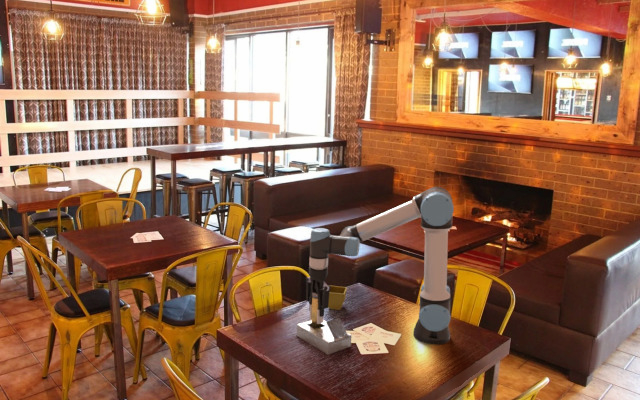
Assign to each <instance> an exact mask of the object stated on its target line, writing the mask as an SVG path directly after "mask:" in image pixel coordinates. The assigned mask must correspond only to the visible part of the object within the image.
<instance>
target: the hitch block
mask: <svg viewBox="0 0 640 400" xmlns="http://www.w3.org/2000/svg"><path fill="white" fill-rule="evenodd" d="M326 322H328V321H326V320H325V319H323V323H321V328H318V329H314V328H312V327H311V320H310V319H309V320H308V321H304V322H301V323H298V324H296V337H298V338H300V339H302V340H303V341H305V342H307V343H308V344H310V345H311V346H313V347H315V348H316V349H318V350H319V351H321V352H323V353H324V354H326V355H331V354H333V353H337V352H339V351H342V350H345V349H348V348H351V346H352V337H353V336H352V334H351V333H349V332H347V334H348V335H349V338H347V339H344V340H341V341H338V342H334V338H333V335H332V333H331V331H330V329H329V327H328V325H327V323H326Z"/></svg>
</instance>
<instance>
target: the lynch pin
mask: <svg viewBox="0 0 640 400" xmlns="http://www.w3.org/2000/svg"><path fill="white" fill-rule="evenodd" d="M317 308H319V304H318V293H317V292H316V291H314V292H312V316H311V327H312V328H314V329H318V328H321V323H320V324H317Z"/></svg>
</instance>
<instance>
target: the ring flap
mask: <svg viewBox="0 0 640 400" xmlns="http://www.w3.org/2000/svg"><path fill="white" fill-rule="evenodd" d="M326 323H327V325H328V327H329V329H330V331H331V333H332V335H333V338H334V342H338V341H341V340H344V339H347V338H349V335H348V334H347V333H348V332H347V331H346V328H345V326H344V324H343V322H342V320H341V318H340V317H337V318H334V319H331V320H328V321H327V322H326Z"/></svg>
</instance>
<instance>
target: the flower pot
mask: <svg viewBox="0 0 640 400" xmlns="http://www.w3.org/2000/svg"><path fill="white" fill-rule="evenodd" d="M330 286H331V289H330V291H329V304H328V309H330V310H337V311H338V310H339V311H340V310H341V309H342V307H343V304H344V302H345V300H346V296H347V290H348V287H346V286H337V285H330Z"/></svg>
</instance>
